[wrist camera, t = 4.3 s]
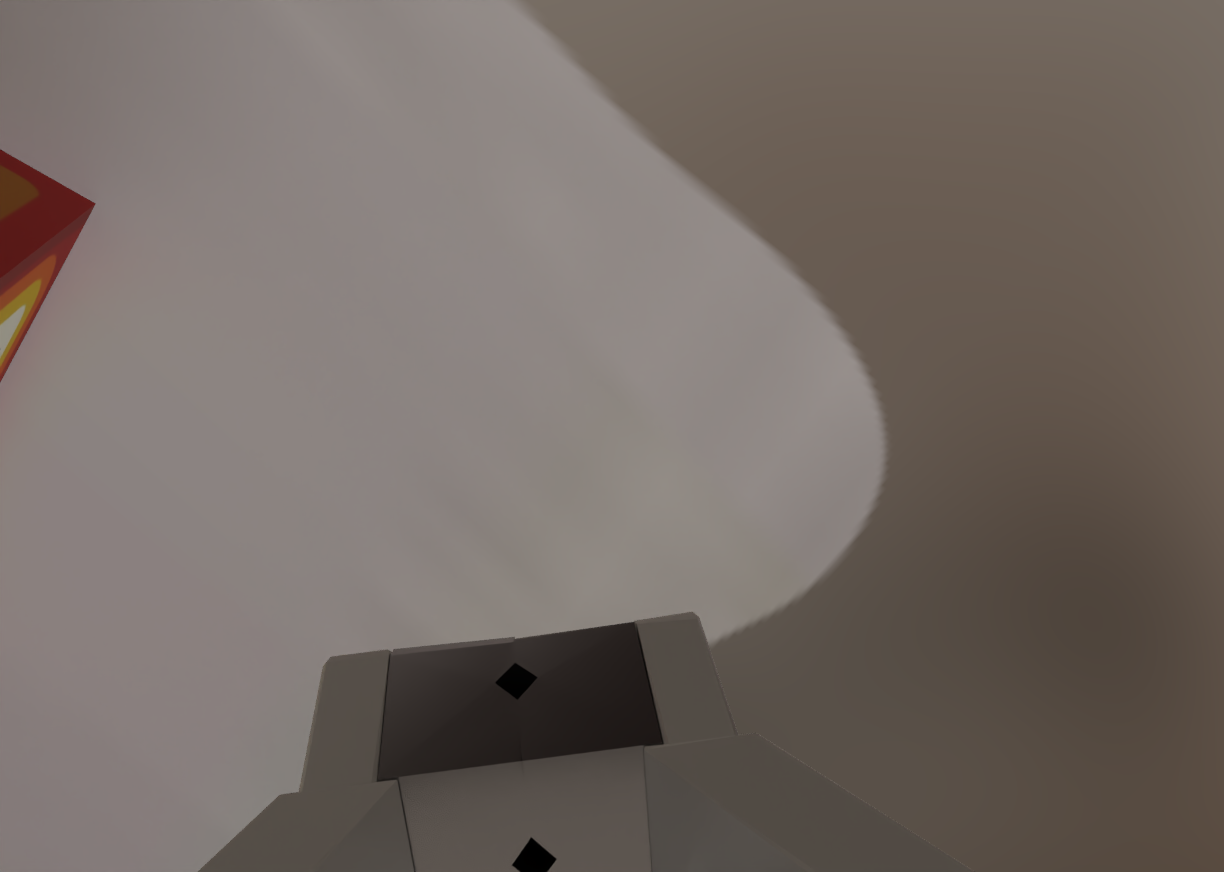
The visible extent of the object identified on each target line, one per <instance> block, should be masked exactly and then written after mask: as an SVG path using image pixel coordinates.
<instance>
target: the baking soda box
mask: <svg viewBox="0 0 1224 872" xmlns="http://www.w3.org/2000/svg"><path fill="white" fill-rule="evenodd" d="M94 206H95V203H93V202H91V201H90V200H88V199H86V198H84V197H83V196H81V195H79V194H77V193H76V192H74V191H72V190H70V189H69V188H67V187H65V186H63V185H62V184H60V183H58V182H56V181H55V180H53V179H51V178H49V177H48V176H46V175H44V174H42V173H40V172H39V171H37V170H35V169H33V168H32V167H30V166H28V165H26V164H25V163H23V162H21V161H19V160H18V159H16V158H14V157H12V156H11V155H9V154H7V153H5V152H4V151H2V150H0V382H1V380H2V378H3V376H4V374H5V372H6V371H7V369H8V367H9V365H10V363H11V361H12V359H13V357H14V356H15V354H16V352H17V350H18V348H19V346H20V344H21V342H22V341H23V339H24V337H25V335H26V333H27V331H28V329H29V327H30V326H31V324H32V322H33V320H34V318H35V316H36V314H37V313H38V311H39V309H40V307H41V305H42V303H43V301H44V299H45V298H46V296H47V294H48V292H49V290H50V288H51V286H52V284H53V283H54V281H55V279H56V277H57V275H58V273H59V271H60V269H61V268H62V266H63V264H64V262H65V260H66V258H67V256H68V254H69V253H70V251H71V249H72V247H73V245H74V243H75V241H76V239H77V238H78V236H79V234H80V232H81V230H82V228H83V226H84V224H85V223H86V221H87V219H88V217H89V215H90V213H91V211H92V210H93V208H94Z"/></svg>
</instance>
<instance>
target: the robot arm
mask: <svg viewBox="0 0 1224 872" xmlns="http://www.w3.org/2000/svg"><path fill="white" fill-rule="evenodd" d="M198 872H975V871H973V870H972V869H970V868H968V867H967V866H965V865H964V864H962V863H960V862H959V861H957V860H956V859H954V858H953V857H951V856H949V855H948V854H946V853H945V852H943V851H941V850H940V849H938V848H937V847H935V846H934V845H932V844H931V843H929V842H927V841H926V840H924V839H922V838H921V837H920V836H918V835H916V834H915V833H913V832H912V831H910V830H909V829H907V828H905V827H904V826H902V825H901V824H899V823H897V822H896V821H894V820H893V819H891V818H890V817H888V816H886V815H885V814H883V813H882V812H880V811H879V810H877V809H875V808H874V807H872V806H871V805H869V804H868V803H866V802H864V801H863V800H861V799H860V798H858V797H857V796H855V795H853V794H852V793H850V792H849V791H847V790H846V789H844V788H842V787H841V786H839V785H838V784H836V783H834V782H833V781H831V780H830V779H828V778H827V777H825V776H823V775H822V774H820V773H819V772H817V771H815V770H814V769H812V768H811V767H809V766H808V765H806V764H805V763H803V762H801V761H800V760H798V759H797V758H795V757H793V756H792V755H790V754H789V753H787V752H786V751H784V750H782V749H781V748H779V747H778V746H776V745H774V744H773V743H771V742H770V741H768V740H767V739H765V738H764V737H762V736H760V735H759V734H757V733H751V734H743V735H738V732H737V729H736V726H735V724H734V720H733V717H732V714H731V711H730V708H729V705H728V702H727V700H726V696H725V693H724V691H723V687H722V685H721V681H720V678H719V675H718V673H717V669H716V666H715V663H714V661H713V658H712V654H711V651H710V648H709V645H708V642H707V639H706V636H705V633H704V630H703V627H702V624H701V621H700V618H699V617H698V616H697V615H696V614H695V613H693V612H687V613H681V614H675V615H668V616H662V617H656V618H649V619H643V620H637V621H634V622H629V623H622V624H615V625H608V626H601V627H594V628H587V629H580V630H573V631H566V632H559V633H551V634H544V635H537V636H530V637H523V638H516V639H515V637H509V638H499V639H489V640H480V641H470V642H460V643H450V644H440V645H430V646H420V647H410V648H401V649H394V650H393V652H391V651H389V650H380V651H372V652H364V653H356V654H348V655H341V656H333V657H330V658H329V660H328V661H327V662H326V663H325V665H324V666H323V669H322V674H321V679H320V684H319V690H318V695H317V700H316V705H315V710H314V716H313V721H312V726H311V731H310V736H309V742H308V747H307V752H306V757H305V762H304V768H303V773H302V778H301V783H300V788H299V792H296V793H289V794H282V795H279V796H278V797H277V798H276V799H275V800H274V801H273V802H272V803H271V804H269V805H268V806H267V807H266V808H265V809H264V810H263V811H262V812H261V813H260V814H259V815H258V816H257V817H256V818H255V819H253V820H252V821H251V822H250V823H249V824H248V825H247V826H246V827H245V828H244V829H243V830H242V831H241V832H240V833H238V834H237V835H236V836H235V837H234V838H233V839H232V840H231V841H230V842H229V843H228V844H227V845H226V846H225V847H224V848H222V849H221V850H220V851H219V852H218V853H217V854H216V855H215V856H214V857H213V858H212V859H211V860H210V861H209V862H208V863H206V864H205V865H204V866H203V867H202V868H201V869H200V870H199V871H198Z"/></svg>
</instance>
